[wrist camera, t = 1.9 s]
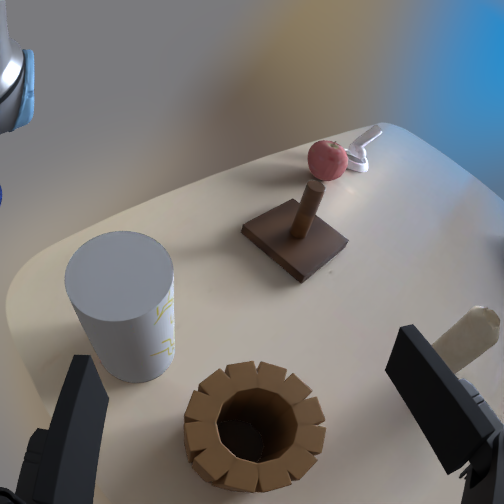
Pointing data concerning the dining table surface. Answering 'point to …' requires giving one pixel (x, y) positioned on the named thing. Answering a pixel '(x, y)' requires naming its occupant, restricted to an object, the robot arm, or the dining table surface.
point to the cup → (125, 302)
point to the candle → (468, 338)
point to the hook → (361, 149)
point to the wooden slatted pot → (262, 419)
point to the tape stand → (296, 234)
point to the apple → (327, 160)
